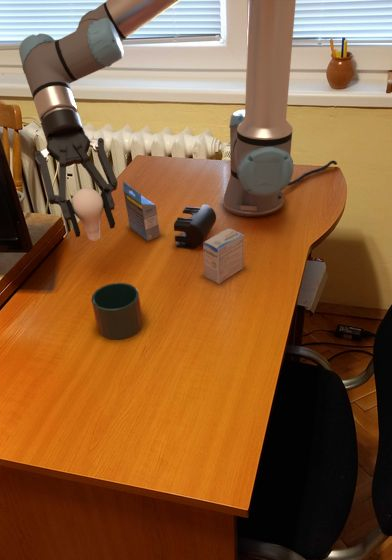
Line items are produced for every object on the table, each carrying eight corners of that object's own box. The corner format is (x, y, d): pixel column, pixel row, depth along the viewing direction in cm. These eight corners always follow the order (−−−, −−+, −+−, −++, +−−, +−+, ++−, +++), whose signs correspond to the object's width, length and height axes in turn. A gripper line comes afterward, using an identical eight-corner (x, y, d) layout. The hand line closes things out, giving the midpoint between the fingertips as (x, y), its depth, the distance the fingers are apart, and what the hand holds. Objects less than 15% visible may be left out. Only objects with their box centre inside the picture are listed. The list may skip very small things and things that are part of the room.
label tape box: (160, 236, 132) (155, 188, 124) (146, 242, 131) (140, 193, 122) (142, 223, 138) (136, 175, 130) (128, 228, 136) (121, 180, 128)
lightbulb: (75, 248, 110) (63, 196, 102) (85, 232, 114) (74, 182, 107) (105, 249, 109) (95, 197, 101) (113, 233, 113) (104, 182, 106)
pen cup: (135, 307, 111) (130, 278, 107) (148, 332, 105) (144, 302, 101) (93, 318, 109) (86, 289, 105) (104, 345, 103) (98, 315, 98)
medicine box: (229, 262, 122) (228, 226, 116) (244, 269, 120) (244, 233, 114) (204, 277, 118) (202, 241, 112) (219, 285, 116) (218, 249, 110)
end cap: (204, 252, 126) (202, 225, 121) (175, 248, 128) (172, 222, 123) (216, 231, 133) (216, 205, 128) (189, 227, 135) (187, 201, 130)
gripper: (105, 118, 113) (140, 224, 112) (11, 136, 108) (47, 248, 107) (108, 98, 106) (145, 211, 105) (7, 117, 101) (45, 236, 100)
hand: (95, 230), depth 106 cm, fingers closed on lightbulb, 6 cm apart
